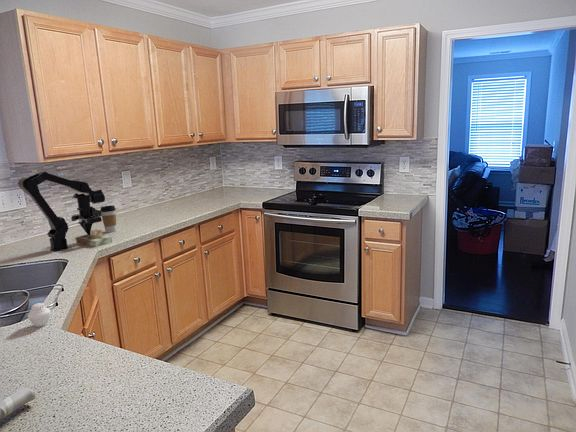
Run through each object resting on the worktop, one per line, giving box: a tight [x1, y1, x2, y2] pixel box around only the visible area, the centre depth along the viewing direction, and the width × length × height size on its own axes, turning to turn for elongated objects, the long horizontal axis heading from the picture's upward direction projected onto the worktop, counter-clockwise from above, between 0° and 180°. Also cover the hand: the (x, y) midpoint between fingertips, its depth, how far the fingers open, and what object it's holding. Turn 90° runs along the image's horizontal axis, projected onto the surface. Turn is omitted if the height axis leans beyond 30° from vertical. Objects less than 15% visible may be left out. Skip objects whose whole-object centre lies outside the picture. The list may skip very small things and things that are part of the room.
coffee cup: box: [100, 205, 117, 234], centre depth 250 cm, size 8×8×15 cm
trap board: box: [75, 233, 113, 248], centre depth 228 cm, size 9×18×3 cm, turn 56°
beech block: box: [90, 228, 103, 239], centre depth 225 cm, size 4×4×4 cm
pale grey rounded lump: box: [27, 302, 51, 328], centre depth 132 cm, size 6×6×7 cm
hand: (88, 234), depth 229 cm, fingers closed
